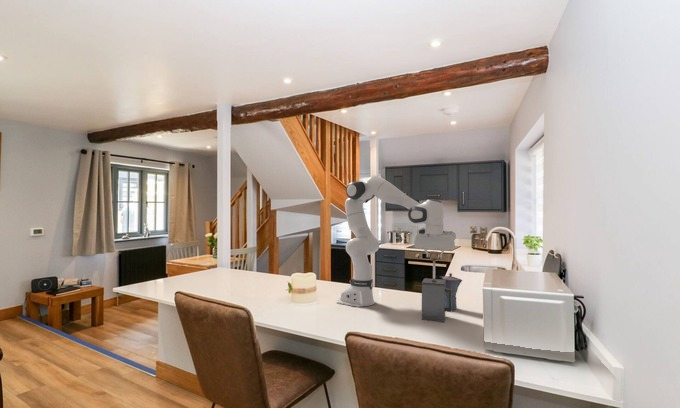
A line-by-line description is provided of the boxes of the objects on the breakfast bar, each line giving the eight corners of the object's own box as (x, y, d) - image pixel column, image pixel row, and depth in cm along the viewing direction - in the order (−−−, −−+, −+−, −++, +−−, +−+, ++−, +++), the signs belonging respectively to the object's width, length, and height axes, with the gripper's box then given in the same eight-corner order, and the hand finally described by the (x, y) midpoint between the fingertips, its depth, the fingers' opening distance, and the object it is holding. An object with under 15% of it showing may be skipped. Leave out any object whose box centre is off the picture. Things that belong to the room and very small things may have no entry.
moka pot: (463, 312, 192) (463, 275, 192) (434, 310, 195) (434, 274, 195) (460, 307, 201) (461, 272, 201) (433, 305, 204) (433, 271, 204)
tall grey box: (421, 320, 178) (421, 282, 178) (423, 313, 188) (424, 278, 188) (450, 323, 173) (451, 284, 173) (451, 316, 183) (451, 280, 184)
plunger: (425, 297, 179) (425, 252, 179) (427, 294, 186) (427, 250, 186) (441, 299, 176) (441, 253, 177) (442, 295, 184) (442, 251, 184)
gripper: (455, 230, 181) (455, 257, 181) (415, 229, 188) (415, 255, 188) (455, 231, 175) (455, 259, 175) (413, 230, 182) (413, 257, 182)
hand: (434, 257), depth 181 cm, fingers open, 5 cm apart
